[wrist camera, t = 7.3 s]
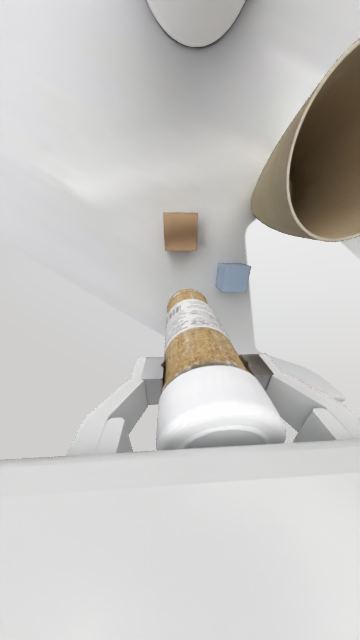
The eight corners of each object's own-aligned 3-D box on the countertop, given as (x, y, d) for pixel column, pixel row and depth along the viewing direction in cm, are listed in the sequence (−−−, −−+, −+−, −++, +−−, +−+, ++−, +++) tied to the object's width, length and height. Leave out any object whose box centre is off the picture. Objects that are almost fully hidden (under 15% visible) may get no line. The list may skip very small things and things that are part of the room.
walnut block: (164, 217, 29) (163, 212, 24) (193, 218, 29) (197, 212, 24) (166, 249, 32) (165, 250, 27) (192, 249, 32) (196, 250, 27)
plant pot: (325, 141, 25) (521, 12, 11) (295, 242, 32) (395, 240, 18) (237, 140, 25) (325, 2, 11) (225, 243, 31) (270, 242, 17)
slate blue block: (218, 263, 33) (225, 266, 29) (240, 263, 34) (251, 266, 29) (215, 286, 36) (221, 292, 31) (236, 285, 36) (245, 292, 31)
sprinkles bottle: (185, 332, 19) (209, 494, 6) (158, 306, 17) (124, 459, 5) (215, 308, 17) (314, 453, 5) (189, 278, 16) (246, 388, 4)
